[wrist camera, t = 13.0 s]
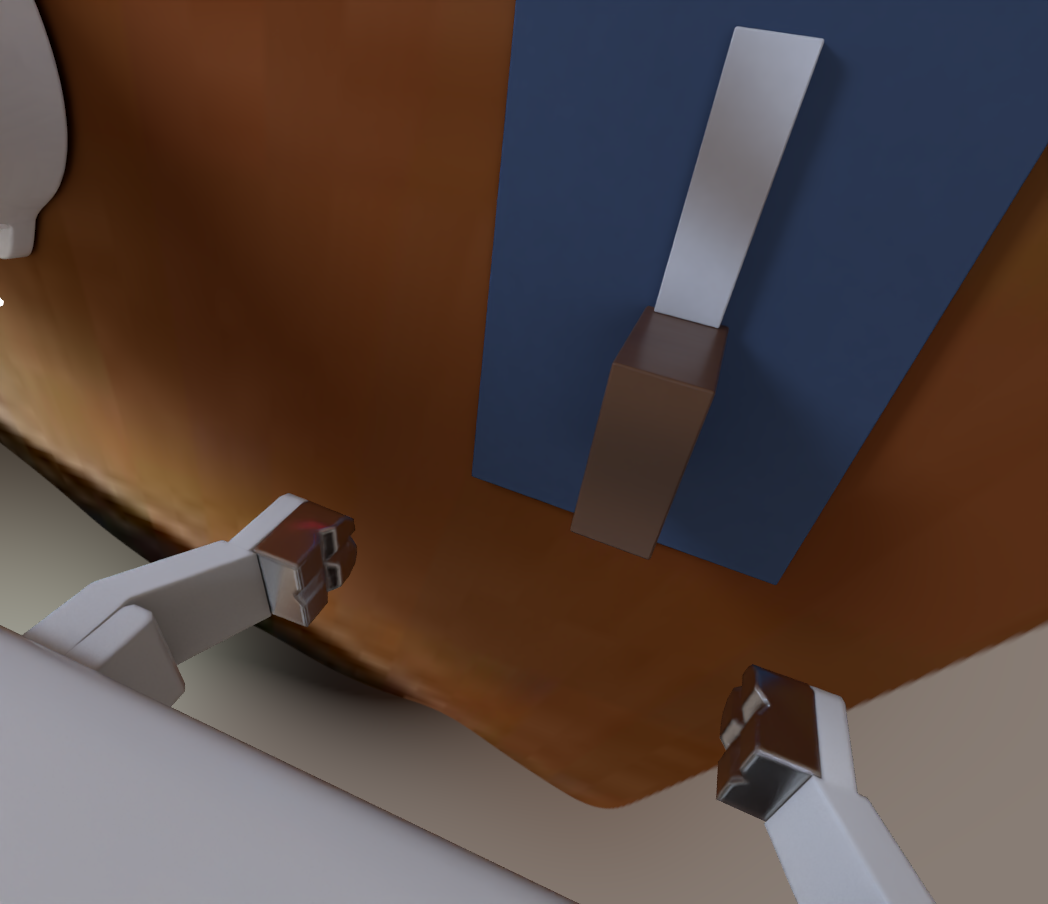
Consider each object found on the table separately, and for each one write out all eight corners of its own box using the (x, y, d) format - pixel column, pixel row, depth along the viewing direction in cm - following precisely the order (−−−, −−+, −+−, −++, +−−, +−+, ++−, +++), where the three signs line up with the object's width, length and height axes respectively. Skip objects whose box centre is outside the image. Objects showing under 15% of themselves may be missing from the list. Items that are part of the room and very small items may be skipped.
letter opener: (672, 477, 20) (649, 561, 17) (605, 454, 21) (569, 532, 17) (838, 42, 13) (859, 26, 9) (723, 25, 13) (702, 4, 10)
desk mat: (475, 471, 24) (471, 476, 24) (541, -211, 12) (535, -219, 12) (776, 578, 22) (776, 585, 21) (1234, -175, 10) (1250, -184, 9)
